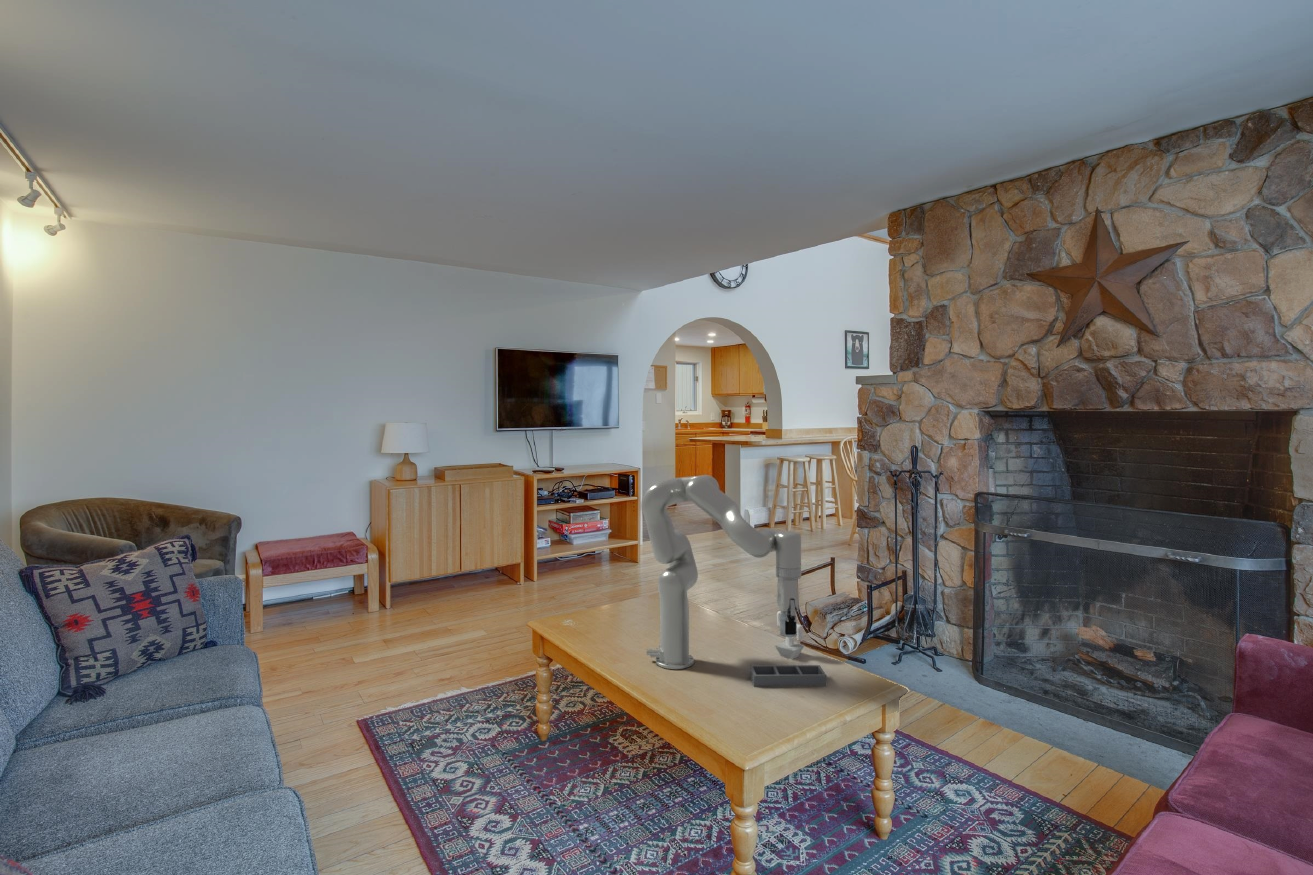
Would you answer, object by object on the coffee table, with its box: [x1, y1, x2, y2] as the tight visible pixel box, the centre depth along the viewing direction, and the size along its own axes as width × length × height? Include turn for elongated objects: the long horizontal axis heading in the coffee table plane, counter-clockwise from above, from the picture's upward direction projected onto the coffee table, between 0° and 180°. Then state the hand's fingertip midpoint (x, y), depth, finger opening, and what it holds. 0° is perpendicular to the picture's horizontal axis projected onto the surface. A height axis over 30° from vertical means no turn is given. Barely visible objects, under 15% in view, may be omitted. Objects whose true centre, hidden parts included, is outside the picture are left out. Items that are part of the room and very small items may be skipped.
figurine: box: [774, 610, 805, 660], centre depth 217 cm, size 7×9×15 cm
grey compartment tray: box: [749, 664, 828, 688], centre depth 197 cm, size 22×8×3 cm, turn 91°
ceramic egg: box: [779, 610, 798, 638], centre depth 197 cm, size 5×5×8 cm
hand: (788, 630), depth 197 cm, fingers closed on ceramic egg, 5 cm apart
